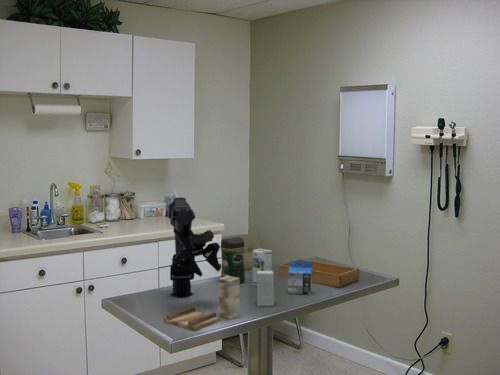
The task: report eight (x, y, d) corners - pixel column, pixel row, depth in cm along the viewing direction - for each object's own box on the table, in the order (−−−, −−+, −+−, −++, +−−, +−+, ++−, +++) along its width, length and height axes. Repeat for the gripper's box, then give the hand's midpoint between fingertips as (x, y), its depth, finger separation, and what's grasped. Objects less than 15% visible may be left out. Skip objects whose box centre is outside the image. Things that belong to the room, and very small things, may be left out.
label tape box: (287, 294, 223) (287, 262, 222) (288, 291, 227) (289, 260, 226) (310, 295, 222) (311, 263, 221) (311, 292, 226) (311, 261, 224)
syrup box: (251, 285, 235) (252, 250, 234) (261, 282, 239) (261, 247, 238) (262, 288, 231) (262, 252, 230) (272, 285, 236) (272, 249, 234)
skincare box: (273, 302, 212) (273, 270, 211) (273, 306, 208) (274, 273, 207) (256, 302, 212) (256, 270, 211) (256, 306, 208) (257, 273, 206)
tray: (278, 276, 251) (278, 263, 251) (299, 270, 263) (299, 257, 262) (339, 289, 232) (339, 275, 231) (358, 281, 243) (359, 268, 242)
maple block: (218, 316, 196) (218, 278, 195) (228, 312, 200) (228, 275, 199) (230, 319, 193) (230, 281, 192) (239, 315, 197) (239, 278, 196)
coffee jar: (236, 278, 246) (236, 235, 244) (247, 282, 239) (248, 238, 237) (217, 282, 240) (217, 237, 238) (228, 286, 233) (228, 240, 232)
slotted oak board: (163, 321, 190) (163, 314, 190) (188, 312, 200) (188, 305, 200) (195, 331, 182) (195, 323, 182) (219, 321, 192) (219, 313, 191)
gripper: (180, 227, 195) (204, 264, 189) (216, 220, 209) (240, 254, 204) (163, 247, 200) (187, 283, 195) (200, 239, 215) (223, 273, 209)
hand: (210, 273), depth 201 cm, fingers open, 9 cm apart
